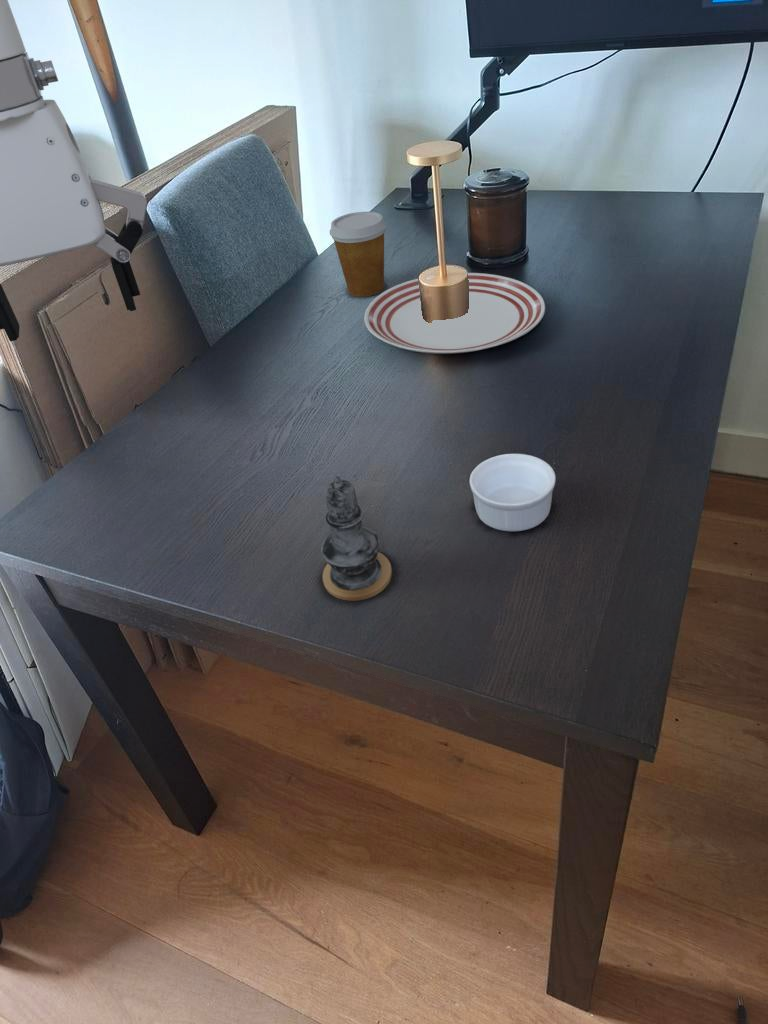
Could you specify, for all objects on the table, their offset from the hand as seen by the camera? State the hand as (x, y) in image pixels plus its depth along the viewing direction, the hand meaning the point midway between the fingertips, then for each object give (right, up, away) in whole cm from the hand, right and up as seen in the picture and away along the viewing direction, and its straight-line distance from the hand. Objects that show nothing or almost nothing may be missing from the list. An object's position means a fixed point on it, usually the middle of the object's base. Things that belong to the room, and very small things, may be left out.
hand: (74, 319), depth 64 cm
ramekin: (+40, -16, +18) cm, 47 cm away
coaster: (+23, -23, +13) cm, 35 cm away
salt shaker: (+23, -22, +13) cm, 35 cm away
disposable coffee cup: (+23, +23, +69) cm, 76 cm away
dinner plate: (+37, +12, +54) cm, 67 cm away
